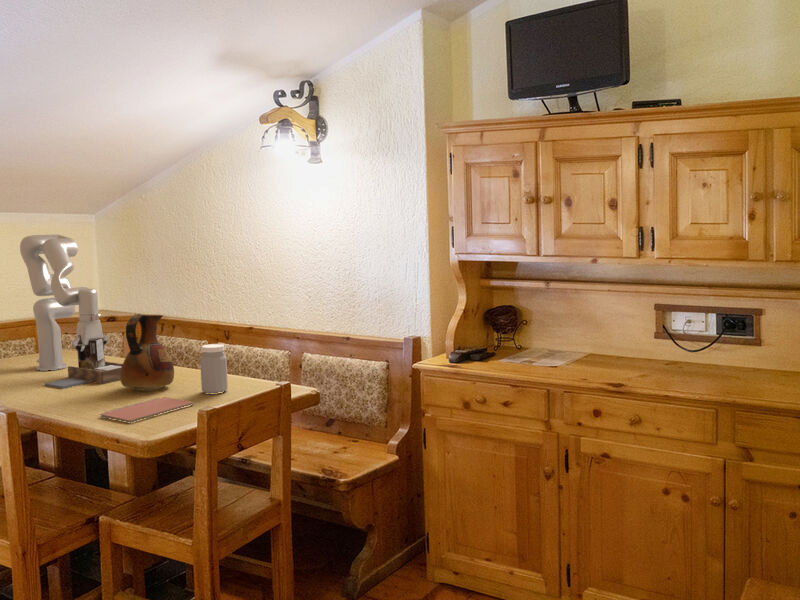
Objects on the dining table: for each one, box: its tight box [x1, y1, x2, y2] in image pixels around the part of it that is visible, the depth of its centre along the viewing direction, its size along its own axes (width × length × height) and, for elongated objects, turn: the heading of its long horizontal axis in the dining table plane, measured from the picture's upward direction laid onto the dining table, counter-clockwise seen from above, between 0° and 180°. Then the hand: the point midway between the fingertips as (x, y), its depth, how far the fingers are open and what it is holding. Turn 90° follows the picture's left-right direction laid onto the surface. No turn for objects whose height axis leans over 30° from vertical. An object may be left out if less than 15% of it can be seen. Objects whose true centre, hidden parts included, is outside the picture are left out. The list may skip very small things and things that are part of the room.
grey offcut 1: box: [95, 365, 115, 371], centre depth 315 cm, size 4×8×5 cm, turn 145°
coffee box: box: [76, 338, 106, 370], centre depth 319 cm, size 9×6×16 cm
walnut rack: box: [67, 360, 123, 385], centre depth 317 cm, size 23×15×5 cm, turn 58°
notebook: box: [99, 396, 195, 423], centre depth 261 cm, size 27×17×2 cm, turn 147°
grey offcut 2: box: [102, 366, 121, 371], centre depth 313 cm, size 4×8×5 cm, turn 150°
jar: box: [199, 343, 229, 394], centre depth 287 cm, size 10×10×18 cm
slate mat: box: [44, 377, 90, 389], centre depth 305 cm, size 12×12×1 cm
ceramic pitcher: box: [120, 313, 175, 392], centre depth 293 cm, size 20×20×30 cm
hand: (91, 358), depth 319 cm, fingers closed on coffee box, 8 cm apart
